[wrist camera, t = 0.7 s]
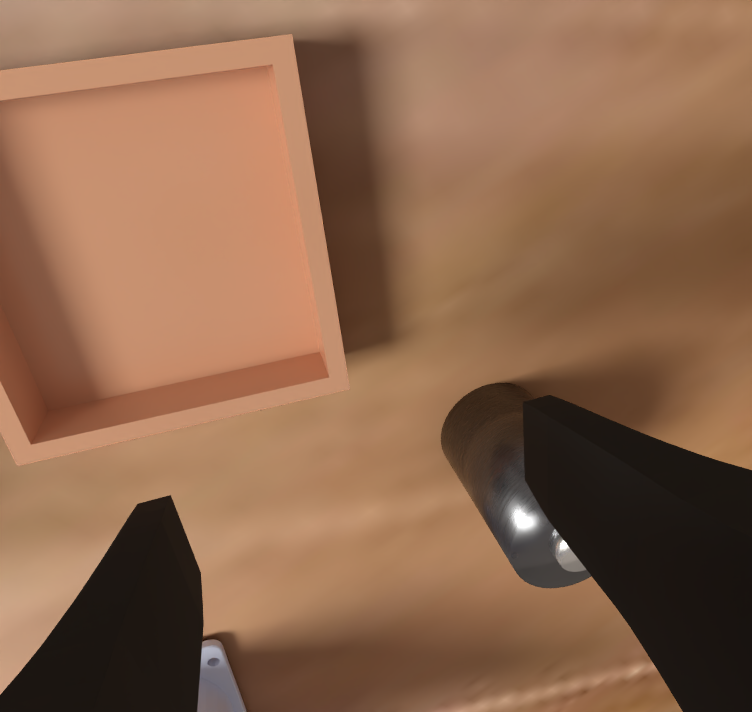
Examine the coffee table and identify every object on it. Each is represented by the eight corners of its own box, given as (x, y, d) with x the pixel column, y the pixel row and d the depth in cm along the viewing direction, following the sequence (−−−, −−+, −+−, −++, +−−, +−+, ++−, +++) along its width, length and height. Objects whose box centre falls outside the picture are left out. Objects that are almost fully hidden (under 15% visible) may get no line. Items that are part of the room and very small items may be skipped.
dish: (336, 357, 21) (350, 389, 19) (40, 422, 19) (17, 466, 17) (282, 40, 16) (291, 33, 14) (-114, 90, 15) (-172, 92, 12)
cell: (538, 458, 26) (641, 580, 19) (444, 483, 25) (520, 618, 19) (539, 372, 24) (653, 476, 17) (437, 396, 23) (519, 514, 17)
